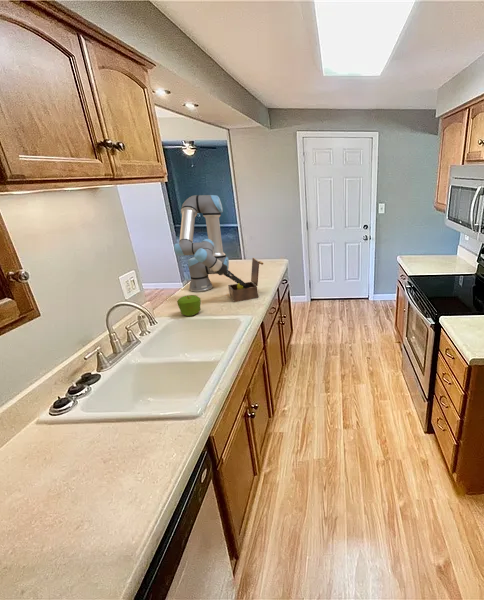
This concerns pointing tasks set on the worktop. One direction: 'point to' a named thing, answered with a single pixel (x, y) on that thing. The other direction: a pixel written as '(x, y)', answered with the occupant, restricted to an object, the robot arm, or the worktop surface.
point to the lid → (255, 271)
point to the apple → (189, 305)
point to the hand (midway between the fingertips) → (245, 286)
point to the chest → (243, 292)
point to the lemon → (240, 286)
